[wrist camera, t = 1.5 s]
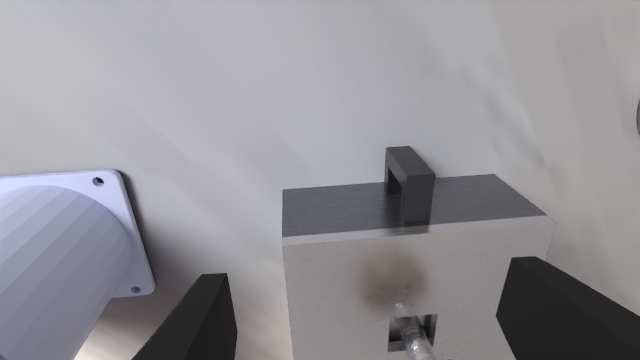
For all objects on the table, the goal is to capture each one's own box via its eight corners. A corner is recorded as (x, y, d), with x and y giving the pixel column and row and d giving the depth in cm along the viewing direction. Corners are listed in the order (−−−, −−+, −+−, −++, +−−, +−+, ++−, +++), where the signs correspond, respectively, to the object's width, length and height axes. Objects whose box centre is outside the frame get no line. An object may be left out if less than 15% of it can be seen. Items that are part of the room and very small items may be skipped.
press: (297, 342, 24) (299, 419, 20) (278, 148, 18) (276, 194, 13) (463, 325, 25) (504, 395, 20) (501, 133, 19) (571, 172, 14)
